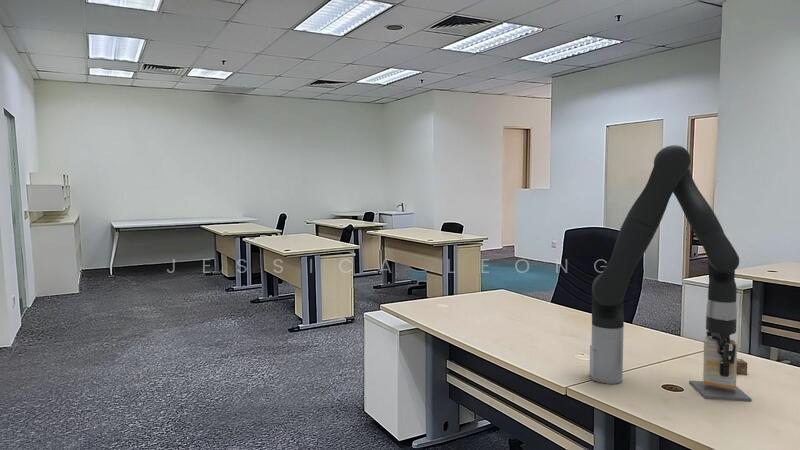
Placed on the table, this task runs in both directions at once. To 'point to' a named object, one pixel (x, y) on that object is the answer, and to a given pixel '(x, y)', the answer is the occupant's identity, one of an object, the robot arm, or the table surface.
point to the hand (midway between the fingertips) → (719, 371)
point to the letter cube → (741, 367)
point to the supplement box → (717, 366)
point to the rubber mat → (719, 392)
